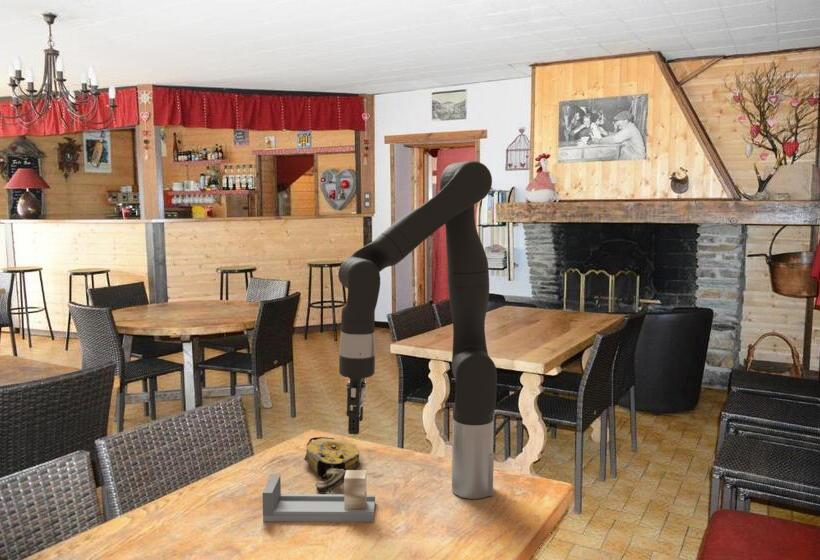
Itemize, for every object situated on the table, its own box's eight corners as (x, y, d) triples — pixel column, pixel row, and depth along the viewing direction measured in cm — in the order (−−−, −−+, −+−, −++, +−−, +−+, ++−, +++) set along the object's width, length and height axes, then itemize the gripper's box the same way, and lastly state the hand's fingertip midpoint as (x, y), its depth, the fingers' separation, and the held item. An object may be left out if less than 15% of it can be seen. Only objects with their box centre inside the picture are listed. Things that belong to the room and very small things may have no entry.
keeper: (366, 500, 149) (366, 470, 148) (365, 510, 144) (364, 478, 144) (346, 500, 149) (346, 470, 148) (344, 509, 144) (344, 478, 144)
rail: (375, 502, 151) (375, 476, 150) (372, 521, 142) (372, 493, 142) (271, 501, 151) (271, 475, 151) (263, 521, 142) (262, 492, 142)
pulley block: (299, 471, 152) (308, 427, 182) (295, 496, 153) (305, 447, 182) (361, 479, 153) (361, 434, 183) (357, 504, 154) (357, 454, 184)
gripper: (372, 361, 136) (370, 439, 138) (377, 345, 150) (375, 417, 152) (335, 359, 136) (333, 438, 138) (343, 344, 150) (342, 415, 152)
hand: (355, 426), depth 145 cm, fingers open, 8 cm apart
